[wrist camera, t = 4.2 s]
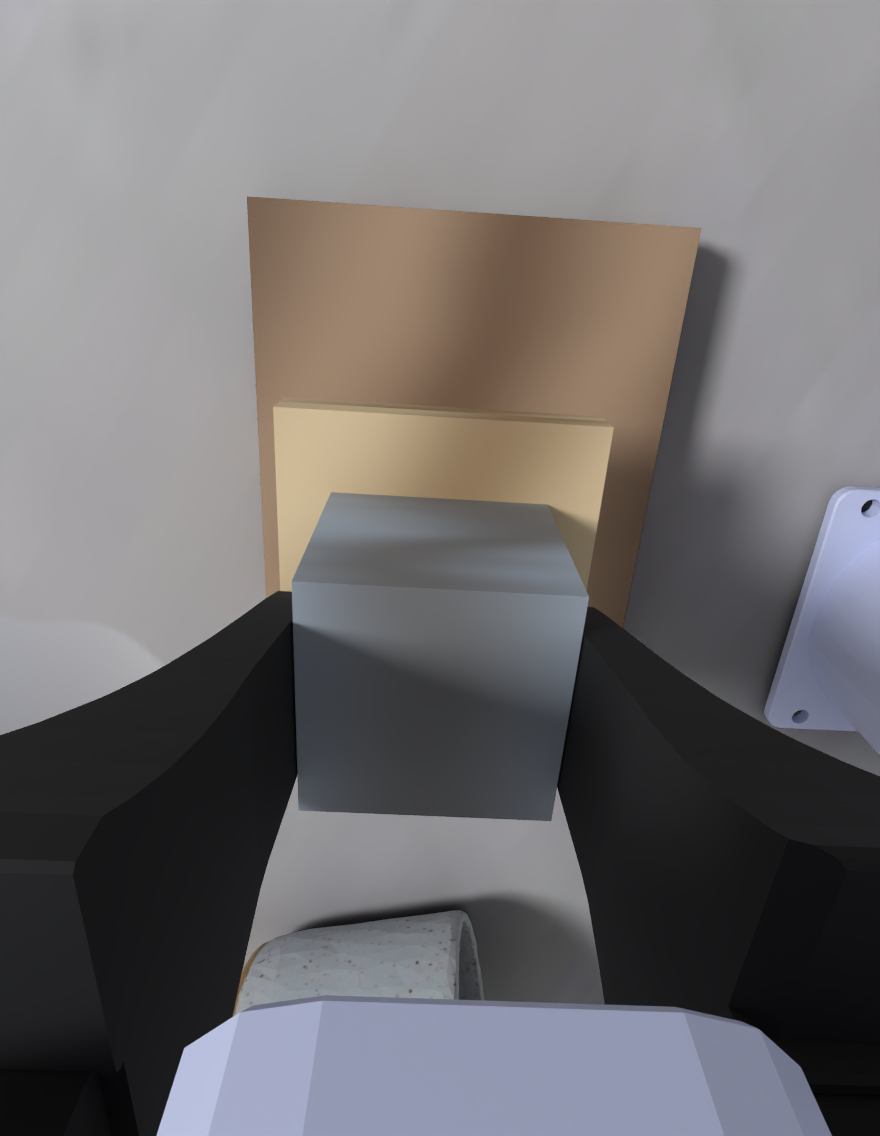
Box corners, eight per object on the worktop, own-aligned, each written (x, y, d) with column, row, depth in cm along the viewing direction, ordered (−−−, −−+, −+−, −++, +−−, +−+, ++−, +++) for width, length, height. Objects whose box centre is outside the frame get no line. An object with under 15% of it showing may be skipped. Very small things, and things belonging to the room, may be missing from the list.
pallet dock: (679, 230, 17) (701, 228, 15) (600, 656, 21) (612, 683, 20) (262, 201, 16) (246, 196, 15) (280, 640, 21) (269, 666, 20)
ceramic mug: (243, 894, 26) (173, 1134, 19) (457, 862, 25) (466, 1098, 18) (319, 1058, 30) (285, 1301, 23) (502, 1034, 30) (523, 1277, 23)
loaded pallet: (602, 416, 13) (685, 496, 9) (554, 719, 16) (598, 890, 12) (283, 397, 13) (207, 467, 8) (293, 707, 16) (240, 877, 11)
